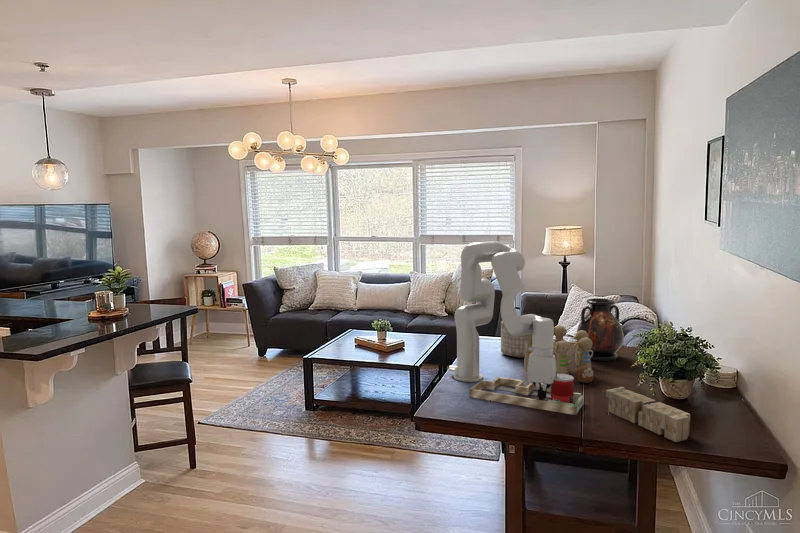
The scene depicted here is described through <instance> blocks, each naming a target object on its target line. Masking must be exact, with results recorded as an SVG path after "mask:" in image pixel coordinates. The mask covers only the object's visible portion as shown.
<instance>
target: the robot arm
mask: <svg viewBox="0 0 800 533" xmlns="http://www.w3.org/2000/svg"><path fill="white" fill-rule="evenodd" d="M460 263H461V272H460V284H459V296H460V299H461V301H462V302H465V303H472V304H466V305H465V304H464V305H462V306H460V307H458V308H457V309H456V310H455V313H454V322H455V328H456V365H449V366H448V370H449V372H454V373H453V379H454V380H456V381H459V382H466V383H474V382H480V381H481V380H484V379H483V378H484V375H483V373H481V372H480V335H479V333H478V331H477V328H476V327H479V326H484V325H487V324H489V323H490V322H491V321H492V320H493V316H494V306H495V297H496V295H495V294H496V292H495V287H494V286H495V285H494V284H493V282H492V281H491V279H487V278H482V271H483V270H482V268H481V267H482V266H481V265H480V264H481V263H490V264H491V267H492V270H493V273H494V275H495V278H496V280H497V282H498V285H499V288H500V291H501V293H502V296H501V300H500V315H501V319H502V321H503V322H504V325H505V327H506V329H507V331H508V332H509V333H510V334H511V335H512V336H515V337H519V336H524V335H529V334H532V347H529V348H528V350H530V351H531V352H532V353H531V354H530V356H529V361H528V370H527V373H526V378H527V383H529V384H530V383H531V384H533V385H534V386H535V387H536V389H537V396H536V397H537V398H538V400H543V401H545V399H547V398H546V391H547V389H548V388H549V387H551V384H553V382H554V378H556V377H557V367H556V359H555V356H554V355H553V345H554V340H553V339H554V337H555V335H554V327H555V325H554V321H553V319H552V318H548V317H542V316H539V315H537V314H533V313H528V314H523V315H518V313H517V310H516V306H515V303H516V302H515V301H516V298H517V297H518V294H520V292H522V291H523V289H524V283H523V282H522V278H521V277H520V274H519V272H521V271H522V270H523V269H524V267H525V265H526V261H525V258H524V256H523V254H522V253H521V252H520V251H518V250H517V249H515V248H512V247H511V246H509V245H507V244H505V243H503V242H501V241H496V240H494V241H493V240H491V241H490V240H489V241H477V242H471V243H469V244H466V245H465V246H464V247H463V249H462V251H461V254H460ZM541 383H543V388H542V387H541Z"/></svg>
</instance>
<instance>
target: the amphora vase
mask: <svg viewBox="0 0 800 533" xmlns="http://www.w3.org/2000/svg"><path fill="white" fill-rule="evenodd" d="M586 303H587V304H588V305H589V306H588V305H585V306H583V307H582V309H581V312H580V314H581V315H580V322H579V324H578V326H577V328H576V333H577V332H578V331H580V330H584V331H586V332H587V333H588V335H589V337H588V338H589V339H590V340H591V341H592V342H593V344H592V347H591V348H590V349H589V350H592V351H593V356H592V357H591V358H590V360H591V361H597V362H611V361H614V360H616V359H617V358H618V357H619V356H618V353H617V352H618V351H619V350H620V349H621V348H622V346H623V343H624V339H625V338H624V337H625V336H624V330H623V327H622V325H621V323H620V309H619V307H618V305H616V304H615V303H616V302H615V300H614V299H613V300H612V299H609V298H599V297H597V298H596V297H595V298H589V299H587V300H586ZM613 309H614V310H615V315H614V314H612V310H613ZM586 310H588V311H589V312H587V314H586ZM585 314H586V315H585ZM576 341H577V340H576ZM577 342H578V341H577ZM577 342H576V343H577ZM589 354H590V356H591V354H592V352H591V351H589ZM610 360H611V361H610Z"/></svg>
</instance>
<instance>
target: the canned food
mask: <svg viewBox="0 0 800 533" xmlns="http://www.w3.org/2000/svg"><path fill="white" fill-rule="evenodd" d="M574 391H575V379H574V376H573V375H570V374H569V375H568V374H557V377H556V378H554V382H553V384H551V398H550V400H553V401H559V402H566V403H572V404H574V403H573V398H574V393H575V392H574Z"/></svg>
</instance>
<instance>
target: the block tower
mask: <svg viewBox="0 0 800 533" xmlns="http://www.w3.org/2000/svg"><path fill="white" fill-rule="evenodd" d="M605 397H606V398H608V410H607V411H608V412H609V413H611V414H613V415H615V416H617V417H619V418H622V419H623V420H626V421H629V422H630V423H633V424H637V426H639V427H641V428H644V429H646V430H649V431H651V432H653V433H655V434H657V435H658V436H659V435H661V436H663V435H664V438H666V439H668V440H671V441H672V442H674V443H678V442H681V441H686V440H688V437H689V436H690V427H691V426H690V425H691V424H690V423H691V414H690V413H688V412H686V411H684V410H681V409H678V408H676V407H673V406H671V405H669V404H665V403H663V402H661V401H658V402H656V401H657V400H655V399H654V398H651V397H648V396H647V395H646V396H645V395H643V394H640V393H637V392H634V391H632V390H628V389H626V388H625V387H624V386H619V387H615V388H611V389H606V390H605Z"/></svg>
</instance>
